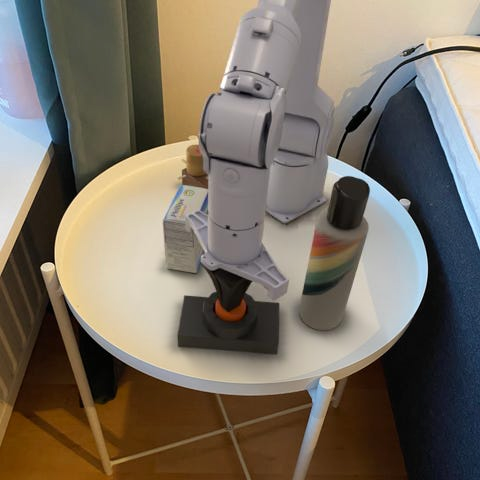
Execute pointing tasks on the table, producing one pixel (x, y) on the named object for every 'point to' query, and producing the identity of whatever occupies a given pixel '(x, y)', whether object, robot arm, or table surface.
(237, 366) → the table surface
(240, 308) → the button
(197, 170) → the dial
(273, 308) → the switch base
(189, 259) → the medicine box
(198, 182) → the dial panel
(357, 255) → the lotion bottle
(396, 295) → the table surface
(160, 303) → the table surface
